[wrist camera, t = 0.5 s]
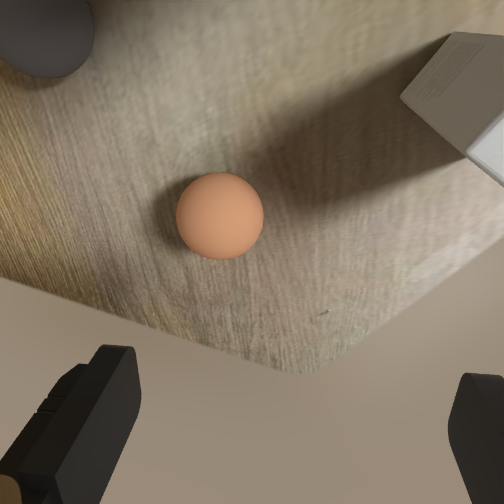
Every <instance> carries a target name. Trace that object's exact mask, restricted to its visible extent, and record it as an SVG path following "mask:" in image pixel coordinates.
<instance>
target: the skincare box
mask: <svg viewBox="0 0 504 504" xmlns="http://www.w3.org/2000/svg"><path fill="white" fill-rule="evenodd" d="M400 99H401V100H402V101H403V102H404V103H405V104H406V105H407V106H409V107H410V108H411V109H412V110H413V111H414V112H415V113H416V114H418V115H419V116H420V117H421V118H422V119H423V120H424V121H426V122H427V123H428V124H429V125H430V126H431V127H432V128H433V129H434V130H436V131H437V132H438V133H439V134H440V135H441V136H442V137H443V138H444V139H446V140H447V141H448V142H449V143H450V144H452V145H453V146H454V147H455V148H456V149H457V150H459V151H460V152H461V153H462V154H463V155H464V156H465V157H467V158H468V159H469V160H470V161H472V162H473V163H474V164H475V165H477V166H478V167H479V168H480V169H482V170H483V171H484V172H485V173H487V174H488V175H489V176H490V177H492V178H493V179H494V180H495V181H497V182H498V183H499V184H500V185H502V186H503V187H504V36H502V35H492V34H480V33H468V32H456V31H455V32H453V33H452V34H451V35H450V36H449V37H448V39H447V40H446V41H445V42H444V44H443V45H442V46H441V47H440V49H439V50H438V51H437V52H436V53H435V55H434V56H433V57H432V58H431V59H430V60H429V62H428V63H427V64H426V65H425V66H424V67H423V69H422V70H421V71H420V72H419V73H418V74H417V76H416V77H415V78H414V79H413V80H412V82H411V83H410V84H409V85H408V86H407V87H406V89H405V90H404V91H403V92H402V93H401V95H400Z"/></svg>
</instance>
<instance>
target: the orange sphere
mask: <svg viewBox="0 0 504 504" xmlns="http://www.w3.org/2000/svg"><path fill="white" fill-rule="evenodd" d="M263 218H264V216H263V207H262V204H261V200H260V198H259V196H258V194H257V193H256V191H255V190H254V189H253V188H252V186H251V185H250V184H249V183H247V182H246V181H245V180H243V179H242V178H240V177H238V176H236V175H233V174H229V173H210V174H206V175H204V176H201V177H199V178H197V179H196V180H194V181H193V182H192V183H190V184H189V185H188V187H187V188H186V189H185V190H184V192H183V193H182V195H181V197H180V199H179V201H178V205H177V210H176V222H177V227H178V231H179V233H180V235H181V237H182V239H183V240H184V242H185V243H186V245H187V246H188V247H189V248H190V249H192V250H193V251H194V252H196V253H197V254H199V255H201V256H203V257H206V258H209V259H214V260H227V259H231V258H234V257H237V256H239V255H241V254H243V253H244V252H246V251H247V250H248V249H249V248H251V247H252V245H253V244H254V243H255V242H256V240H257V239H258V237H259V235H260V232H261V230H262V226H263Z"/></svg>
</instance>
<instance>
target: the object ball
mask: <svg viewBox="0 0 504 504" xmlns="http://www.w3.org/2000/svg"><path fill="white" fill-rule="evenodd" d="M93 42H94V21H93V16H92V13H91V10H90V7H89V5H88V3H87V1H86V0H0V58H1V59H3V60H4V61H5V62H6V63H8V64H9V65H10V66H12V67H13V68H15V69H17V70H18V71H20V72H23V73H25V74H28V75H30V76H34V77H39V78H58V77H63V76H65V75H68V74H70V73H72V72H74V71H75V70H77V69H78V68H79V67H80V66H81V65H82V64H83V63H84V62H85V61H86V59H87V58H88V56H89V54H90V52H91V49H92V46H93Z"/></svg>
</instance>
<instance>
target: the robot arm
mask: <svg viewBox="0 0 504 504" xmlns="http://www.w3.org/2000/svg"><path fill="white" fill-rule="evenodd" d="M140 404H141V387H140V380H139V374H138V366H137V360H136V353H135V350H134V348H133V347H131V346H118V345H102V346H100V347H99V349H98V350H97V352H96V353H95V355H94V356H93V358H92V359H91V361H90V362H89V364H78V365H76V366H75V367H74V368H72V369H71V370H70V371H68V372H67V373H66V374H65V375H63V376H62V377H61V378H60V379H59V380H58V381H57V383H56V384H55V386H54V387H53V389H52V390H51V391H50V393H49V394H48V397H47V398H46V399H44V401H43V402H42V404H41V405H40V406H39V408H38V409H37V413H34V415H33V416H32V418H31V419H30V420H29V422H28V423H27V424H26V426H25V427H24V429H23V430H22V431H21V433H20V434H19V436H18V437H17V438H16V440H15V441H14V442H13V444H12V445H11V447H10V448H9V449H8V451H7V452H6V453H5V455H4V456H3V458H2V459H1V460H0V504H99V503H100V501H101V498H102V496H103V494H104V492H105V489H106V487H107V485H108V482H109V480H110V478H111V476H112V473H113V471H114V469H115V466H116V464H117V462H118V460H119V457H120V455H121V453H122V451H123V448H124V446H125V444H126V441H127V439H128V437H129V435H130V432H131V430H132V428H133V425H134V423H135V421H136V419H137V416H138V413H139V409H140ZM448 436H449V442H450V445H451V448H452V451H453V454H454V457H455V459H456V462H457V465H458V467H459V470H460V472H461V475H462V478H463V481H464V483H465V486H466V488H467V491H468V494H469V497H470V499H471V502H472V504H504V378H503V377H502V376H499V375H490V374H477V373H465V374H463V376H462V377H461V380H460V383H459V387H458V390H457V393H456V396H455V400H454V403H453V407H452V410H451V413H450V416H449V421H448Z"/></svg>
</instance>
